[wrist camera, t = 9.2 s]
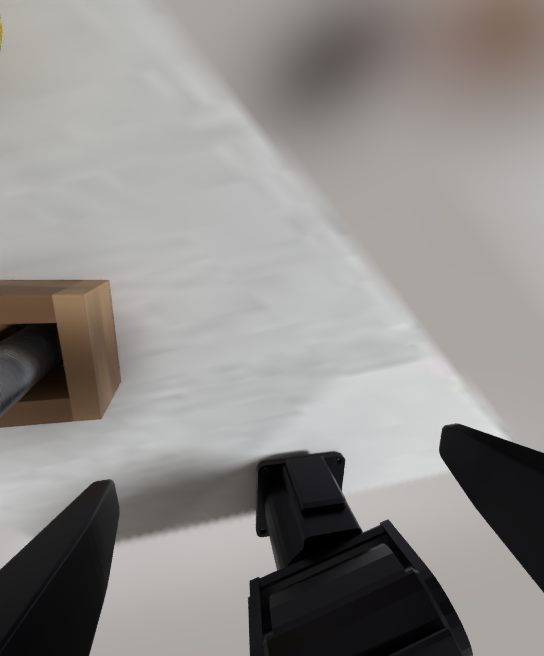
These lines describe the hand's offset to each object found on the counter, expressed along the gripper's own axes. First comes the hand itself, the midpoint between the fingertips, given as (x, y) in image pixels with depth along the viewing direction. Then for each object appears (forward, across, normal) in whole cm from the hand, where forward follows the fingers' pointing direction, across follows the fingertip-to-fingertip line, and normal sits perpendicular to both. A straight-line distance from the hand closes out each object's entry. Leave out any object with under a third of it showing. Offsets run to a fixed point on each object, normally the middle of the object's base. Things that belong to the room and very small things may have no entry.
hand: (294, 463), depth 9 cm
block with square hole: (+12, +10, -1) cm, 16 cm away
